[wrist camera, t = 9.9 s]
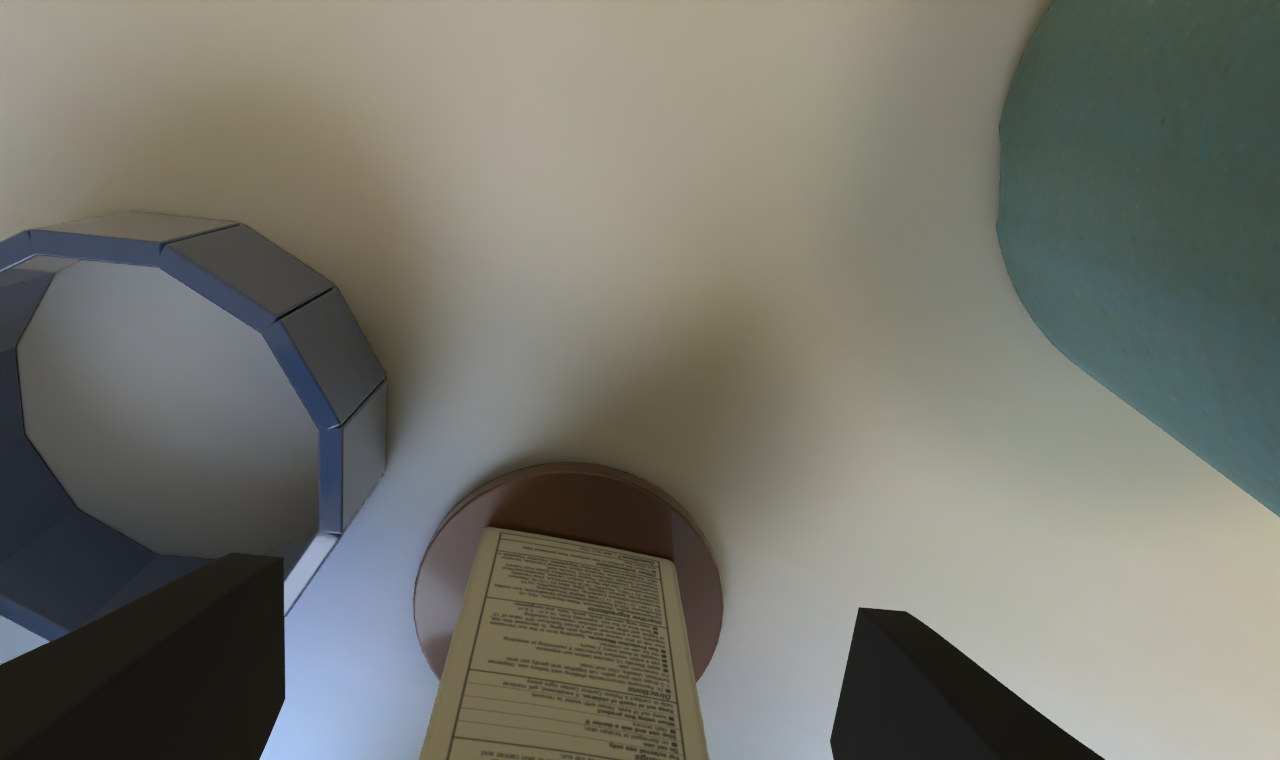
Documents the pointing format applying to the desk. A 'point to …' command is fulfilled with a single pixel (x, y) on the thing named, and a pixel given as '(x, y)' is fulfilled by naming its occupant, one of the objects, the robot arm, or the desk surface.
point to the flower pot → (1156, 214)
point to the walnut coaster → (577, 511)
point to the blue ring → (246, 288)
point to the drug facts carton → (567, 658)
